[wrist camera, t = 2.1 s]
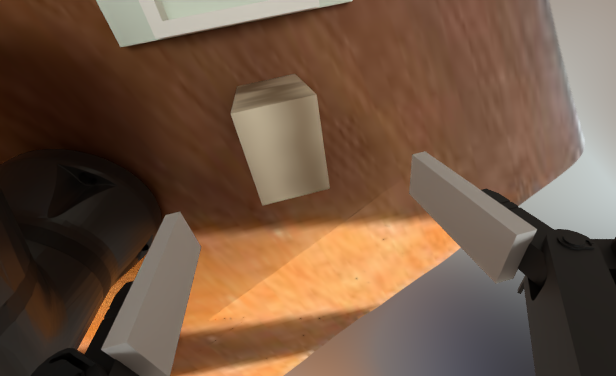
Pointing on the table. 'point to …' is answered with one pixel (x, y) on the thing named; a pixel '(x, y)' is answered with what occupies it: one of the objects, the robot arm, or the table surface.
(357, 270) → the table surface
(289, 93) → the tan wooden block
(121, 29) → the chassis bay
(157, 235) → the robot arm
